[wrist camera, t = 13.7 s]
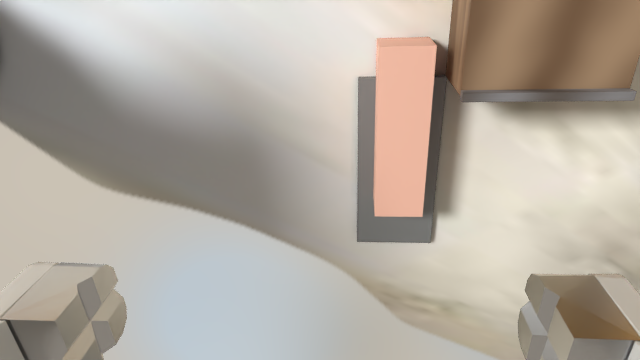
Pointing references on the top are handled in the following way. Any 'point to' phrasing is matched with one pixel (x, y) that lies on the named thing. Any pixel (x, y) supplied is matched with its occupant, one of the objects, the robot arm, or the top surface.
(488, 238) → the top surface
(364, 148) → the mat
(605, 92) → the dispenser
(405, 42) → the pink rectangular block
